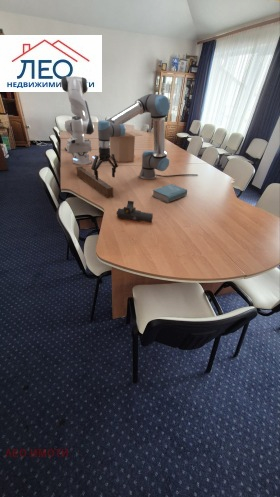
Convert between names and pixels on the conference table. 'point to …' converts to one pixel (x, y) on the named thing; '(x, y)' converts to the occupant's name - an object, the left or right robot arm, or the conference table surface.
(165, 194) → the book
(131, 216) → the laser sight
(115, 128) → the right robot arm
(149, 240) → the conference table surface
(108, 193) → the bar
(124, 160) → the box
